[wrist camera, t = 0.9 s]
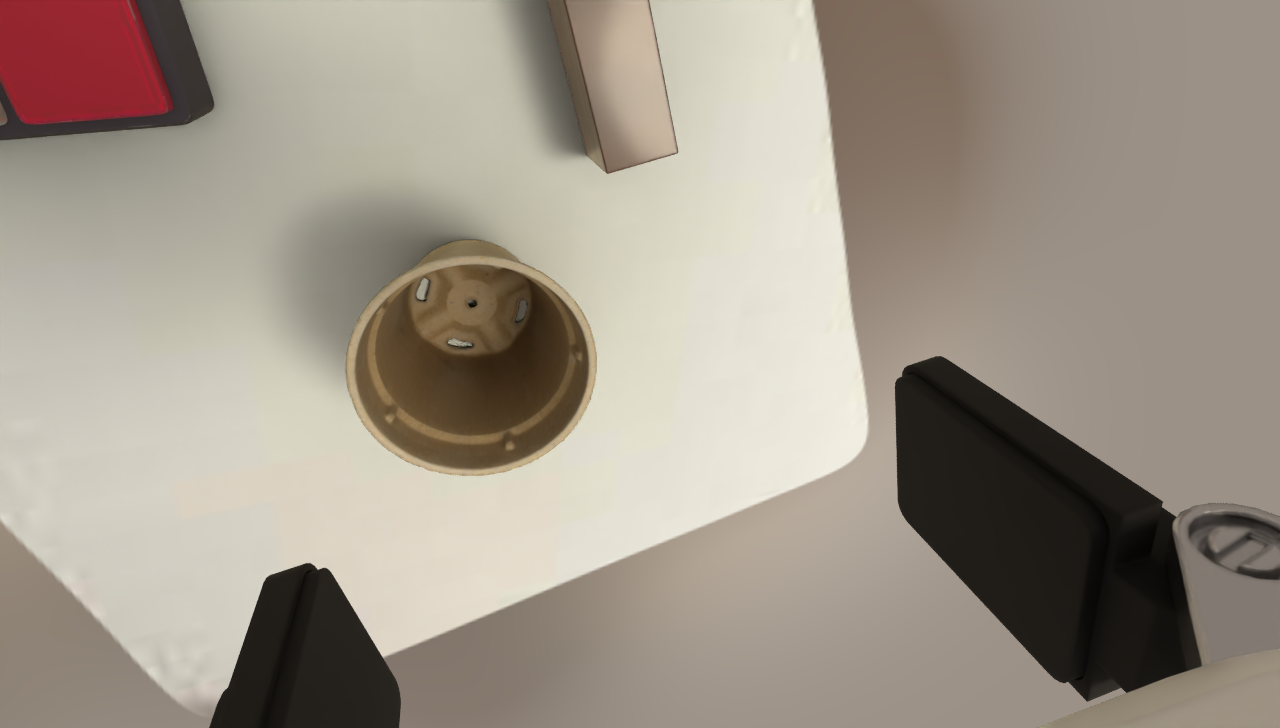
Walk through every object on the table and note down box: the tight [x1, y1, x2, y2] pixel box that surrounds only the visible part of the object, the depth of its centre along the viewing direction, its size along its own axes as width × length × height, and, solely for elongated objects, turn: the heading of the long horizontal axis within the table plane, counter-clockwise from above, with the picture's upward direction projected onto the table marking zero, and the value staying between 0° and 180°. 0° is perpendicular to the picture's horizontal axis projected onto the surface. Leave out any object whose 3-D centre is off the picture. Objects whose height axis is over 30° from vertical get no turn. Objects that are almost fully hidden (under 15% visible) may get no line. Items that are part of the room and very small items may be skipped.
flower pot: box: [346, 240, 597, 476], centre depth 30 cm, size 9×9×9 cm
